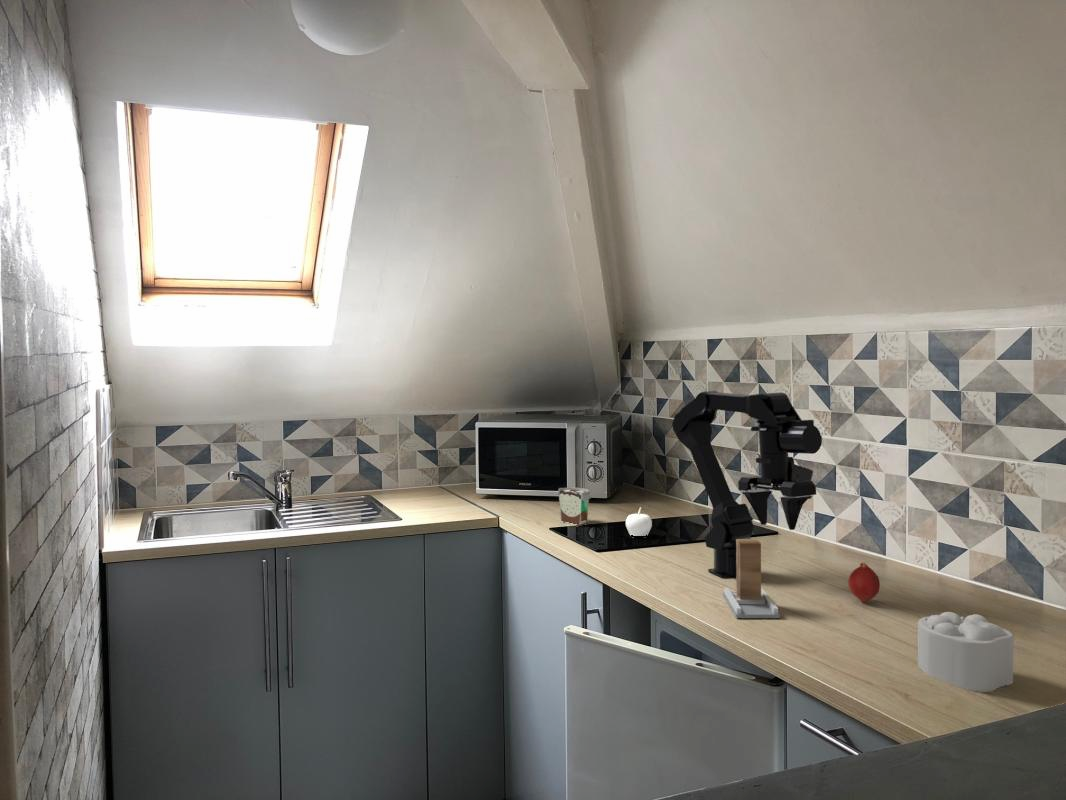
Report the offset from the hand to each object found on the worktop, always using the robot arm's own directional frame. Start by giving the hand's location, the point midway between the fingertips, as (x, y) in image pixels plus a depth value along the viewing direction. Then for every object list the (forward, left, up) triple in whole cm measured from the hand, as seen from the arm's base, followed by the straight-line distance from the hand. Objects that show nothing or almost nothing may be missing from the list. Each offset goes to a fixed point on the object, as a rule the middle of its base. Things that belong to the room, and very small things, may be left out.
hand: (777, 527), depth 178 cm
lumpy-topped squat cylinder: (+50, -3, -13) cm, 52 cm away
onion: (+15, +10, -13) cm, 22 cm away
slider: (+9, -13, -13) cm, 20 cm away
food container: (-81, -12, -13) cm, 83 cm away
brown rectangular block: (+8, -12, -13) cm, 20 cm away
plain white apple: (-57, -4, -13) cm, 59 cm away
